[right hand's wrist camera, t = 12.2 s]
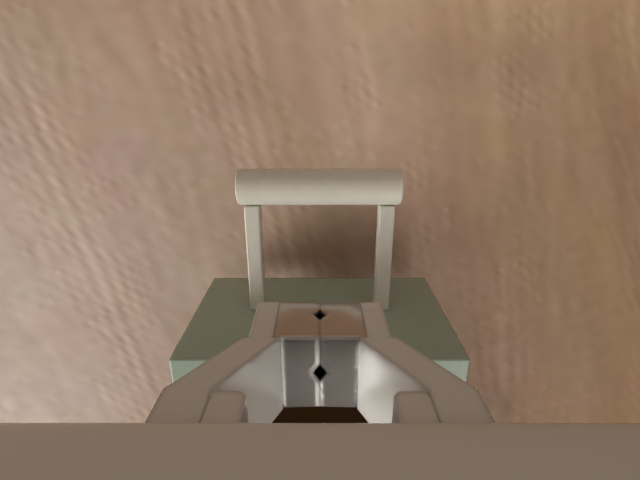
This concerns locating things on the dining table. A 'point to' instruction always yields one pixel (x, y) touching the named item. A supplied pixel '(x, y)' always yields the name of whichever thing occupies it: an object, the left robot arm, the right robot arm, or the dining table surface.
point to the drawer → (319, 279)
